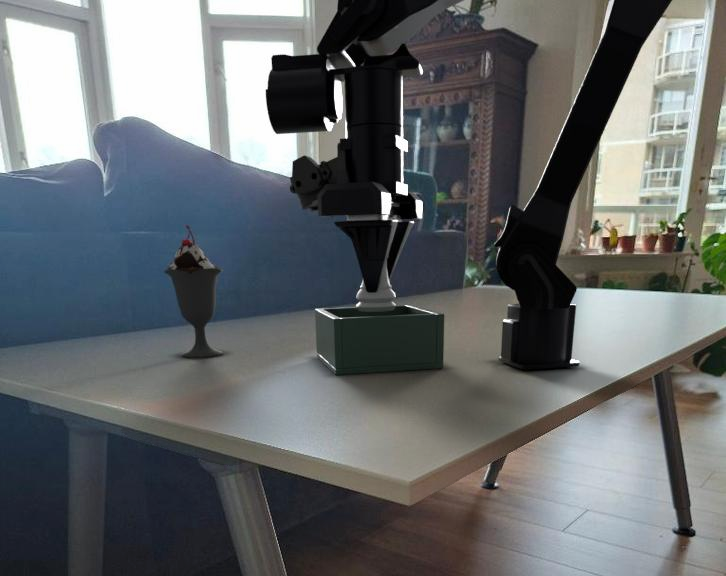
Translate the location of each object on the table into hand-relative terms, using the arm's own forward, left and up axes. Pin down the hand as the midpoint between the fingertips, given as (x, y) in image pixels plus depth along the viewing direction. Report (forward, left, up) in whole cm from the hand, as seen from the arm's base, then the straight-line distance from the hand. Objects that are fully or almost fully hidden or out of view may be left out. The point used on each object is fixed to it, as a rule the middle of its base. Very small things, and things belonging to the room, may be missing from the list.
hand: (376, 291), depth 72 cm
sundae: (+19, -13, -8) cm, 24 cm away
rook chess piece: (0, 0, -2) cm, 2 cm away
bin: (0, 0, -8) cm, 8 cm away
